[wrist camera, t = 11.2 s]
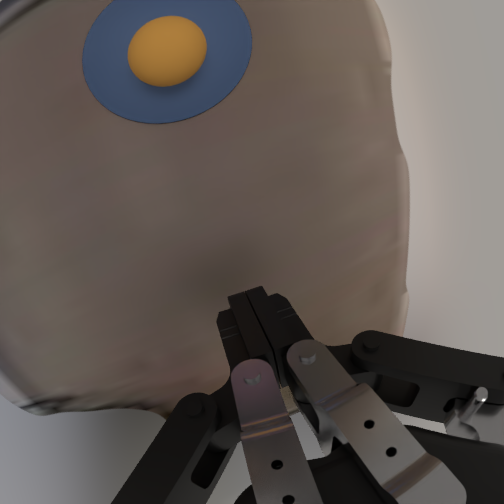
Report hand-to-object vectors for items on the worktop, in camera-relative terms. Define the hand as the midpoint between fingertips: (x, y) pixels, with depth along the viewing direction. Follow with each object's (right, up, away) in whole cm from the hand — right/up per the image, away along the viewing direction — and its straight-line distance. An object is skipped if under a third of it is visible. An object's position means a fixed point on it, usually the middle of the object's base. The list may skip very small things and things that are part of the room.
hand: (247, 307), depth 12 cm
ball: (-6, +16, +3) cm, 18 cm away
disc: (-7, +19, +5) cm, 21 cm away
